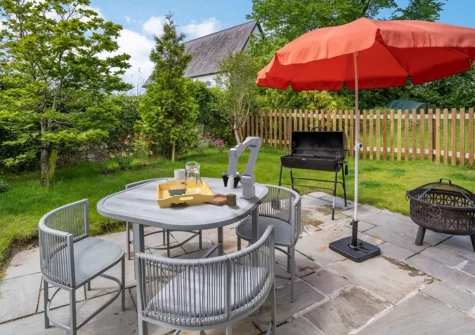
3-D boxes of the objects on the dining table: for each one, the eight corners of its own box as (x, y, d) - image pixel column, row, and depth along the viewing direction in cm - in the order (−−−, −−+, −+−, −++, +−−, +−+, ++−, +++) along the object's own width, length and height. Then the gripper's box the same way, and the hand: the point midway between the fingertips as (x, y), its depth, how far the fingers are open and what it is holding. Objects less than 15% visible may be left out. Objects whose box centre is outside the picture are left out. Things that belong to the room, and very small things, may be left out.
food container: (168, 205, 198) (167, 190, 197) (169, 202, 204) (168, 188, 203) (187, 204, 201) (186, 189, 199) (187, 201, 207) (186, 187, 205)
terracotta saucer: (218, 196, 216) (218, 193, 216) (234, 200, 207) (234, 196, 207) (203, 201, 205) (203, 198, 204) (219, 205, 196) (219, 201, 195)
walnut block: (230, 203, 199) (230, 193, 198) (236, 204, 196) (236, 194, 195) (226, 205, 196) (226, 194, 195) (232, 206, 193) (232, 195, 192)
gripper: (227, 165, 187) (224, 187, 187) (245, 168, 196) (242, 188, 195) (221, 165, 193) (218, 186, 192) (238, 167, 202) (236, 187, 201)
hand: (230, 187), depth 194 cm, fingers open, 7 cm apart
